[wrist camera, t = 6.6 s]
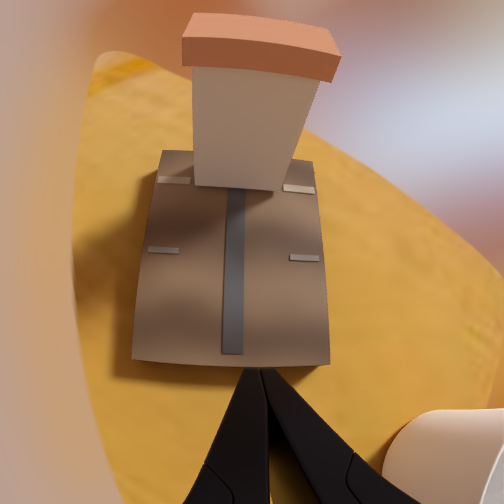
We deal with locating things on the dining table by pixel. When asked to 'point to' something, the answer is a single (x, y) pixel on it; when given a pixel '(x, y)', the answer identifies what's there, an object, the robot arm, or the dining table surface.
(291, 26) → the fader tab
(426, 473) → the mug
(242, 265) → the fader console
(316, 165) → the dining table surface
